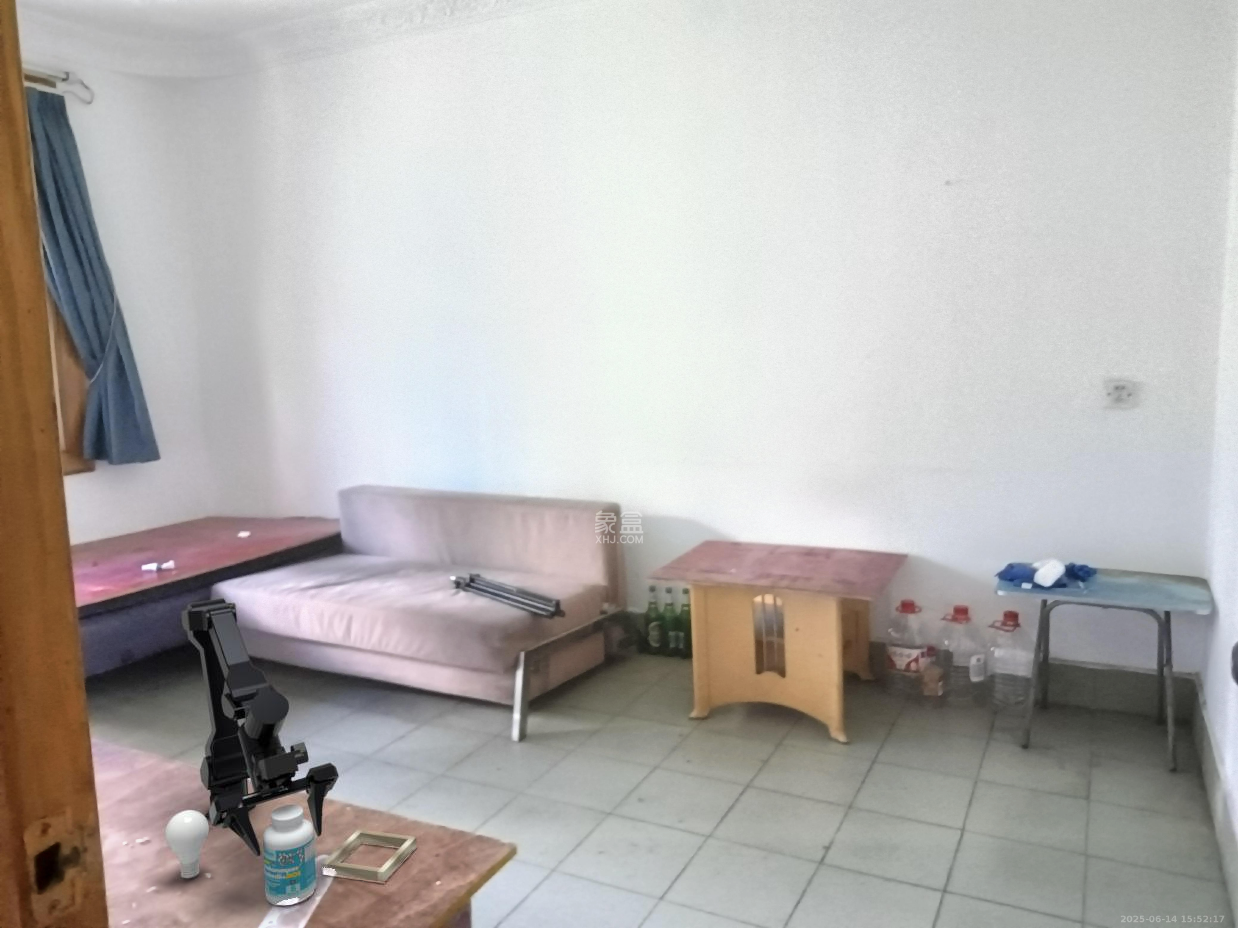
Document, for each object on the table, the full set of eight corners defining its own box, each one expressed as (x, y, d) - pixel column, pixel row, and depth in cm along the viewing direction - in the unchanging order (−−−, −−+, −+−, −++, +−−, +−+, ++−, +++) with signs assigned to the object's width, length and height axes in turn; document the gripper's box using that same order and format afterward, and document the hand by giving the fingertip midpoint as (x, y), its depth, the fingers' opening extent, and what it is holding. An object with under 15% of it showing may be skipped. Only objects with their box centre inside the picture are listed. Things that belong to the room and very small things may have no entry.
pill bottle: (256, 906, 139) (251, 822, 138) (280, 879, 147) (275, 798, 145) (303, 909, 139) (298, 824, 137) (325, 881, 146) (320, 801, 144)
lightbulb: (170, 870, 150) (165, 806, 148) (213, 862, 152) (208, 799, 151) (166, 891, 144) (161, 825, 143) (211, 883, 146) (206, 817, 145)
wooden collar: (358, 839, 158) (358, 829, 158) (416, 847, 155) (416, 836, 155) (322, 874, 148) (321, 863, 148) (383, 884, 145) (383, 872, 145)
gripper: (208, 745, 137) (234, 845, 130) (331, 714, 149) (361, 805, 141) (199, 777, 145) (223, 873, 137) (316, 745, 156) (344, 832, 148)
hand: (290, 845), depth 141 cm, fingers open, 9 cm apart
